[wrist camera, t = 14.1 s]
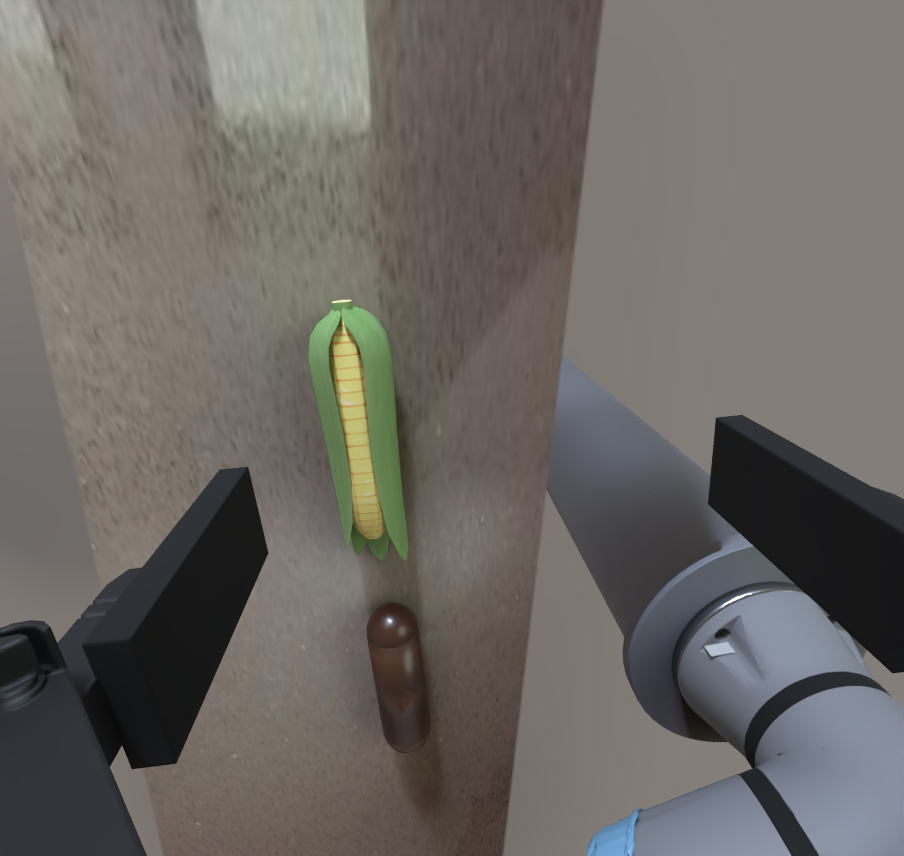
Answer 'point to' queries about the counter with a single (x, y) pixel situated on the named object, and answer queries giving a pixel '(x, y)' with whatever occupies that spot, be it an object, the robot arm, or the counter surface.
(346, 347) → the edible corn
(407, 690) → the dark brown capsule
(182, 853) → the counter surface
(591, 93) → the counter surface
